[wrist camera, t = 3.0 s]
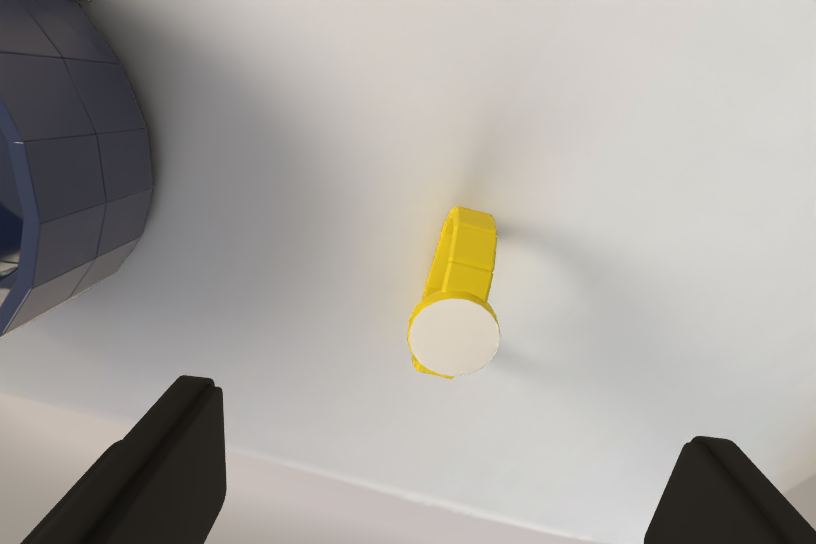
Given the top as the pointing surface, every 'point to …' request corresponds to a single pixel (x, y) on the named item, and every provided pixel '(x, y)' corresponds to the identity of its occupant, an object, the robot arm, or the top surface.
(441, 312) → the watch
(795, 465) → the top surface
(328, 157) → the top surface
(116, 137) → the navy bowl
